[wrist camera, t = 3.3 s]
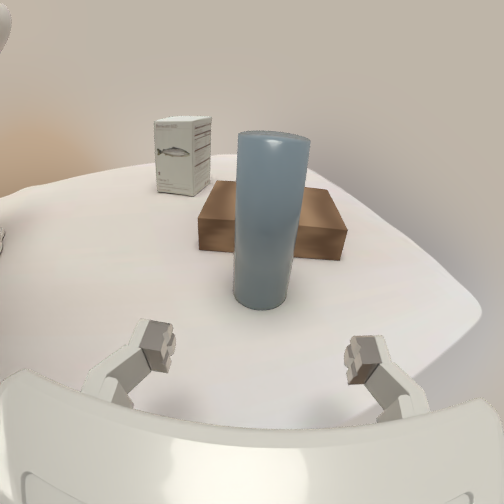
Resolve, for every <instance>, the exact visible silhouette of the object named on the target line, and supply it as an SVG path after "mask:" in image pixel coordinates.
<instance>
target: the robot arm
mask: <svg viewBox="0 0 504 504" xmlns="http://www.w3.org/2000/svg"><path fill="white" fill-rule="evenodd" d="M10 30H11V14H10V11H9V10H8V8H7V7H6V6H5V5H4V4H2V3H0V53H1V51H2V50H3V48H4V46H5V44H6V42H7V40H8V37H9V34H10ZM4 234H5V231H4V229H3V228H2V227H1V228H0V252H1V250H2V246H3V244H2V238H3V237H4ZM172 332H173V325H172V324H169V323H164V322H158V321H153V320H147V319H140V320H139V321H138V323H137V325H136V328H135V330H134V332H133V334H132V337H131V339H130V341H129V344H128V345H124V346H123V347H121V348H120V349H119V350H117V351H116V352H114V353H113V354H112V355H110V356H109V357H107V358H106V359H105V360H103V361H102V362H100V363H99V364H97V365H96V366H95V367H93V368H92V369H90V371H89V373H88V375H87V377H86V380H85V382H84V384H83V387H82V389H81V391H80V392H79V391H77V390H74V389H72V388H69V387H67V386H64V385H62V384H60V383H57V382H55V381H53V380H50V379H48V378H46V377H44V376H42V375H40V374H38V373H36V372H34V371H32V370H29V369H23V370H20V371H18V372H16V373H14V374H13V375H11V376H9V377H8V378H6V379H5V380H4V381H2V383H1V384H0V504H504V432H503V427H502V423H501V419H500V416H499V414H498V412H497V410H496V409H495V408H494V407H493V406H492V405H490V404H489V403H488V402H487V401H486V400H484V399H483V398H475V399H472V400H469V401H467V402H464V403H461V404H458V405H454V406H451V407H448V408H444V409H441V410H437V411H433V412H430V409H429V405H428V402H427V398H426V395H425V392H424V390H423V389H422V388H421V387H420V386H419V385H418V384H417V383H416V382H415V381H414V380H413V379H411V378H410V377H409V376H408V375H407V374H406V373H405V372H404V371H403V370H402V369H401V368H400V367H399V366H398V365H397V364H396V363H392V361H391V358H390V354H389V351H388V348H387V345H386V342H385V339H384V337H383V336H382V335H376V336H372V335H368V336H353V337H352V338H351V340H350V345H349V346H347V347H346V350H345V353H344V363H345V366H346V367H347V368H348V371H347V373H346V374H347V380H348V385H353V384H364V385H365V387H366V388H367V389H368V390H369V392H370V393H371V394H372V396H373V397H374V398H375V399H376V401H377V402H378V403H379V405H380V406H381V407H382V408H383V410H384V412H382V413H381V414H380V415H379V416H378V417H377V418H376V421H377V423H374V424H366V425H359V426H349V427H338V428H323V429H257V428H242V427H231V426H221V425H213V424H206V423H199V422H192V421H186V420H181V419H175V418H170V417H165V416H161V415H156V414H152V413H148V412H143V411H139V410H136V409H133V407H134V404H133V402H132V400H131V399H130V398H129V396H128V395H127V394H128V393H129V392H130V391H131V390H132V389H133V388H134V387H135V386H137V385H138V384H139V383H140V382H141V381H142V380H143V379H144V378H145V377H146V376H147V375H148V374H149V373H150V372H151V371H157V372H163V373H168V372H169V369H170V365H171V358H170V356H172V355H173V354H174V351H175V346H176V338H175V335H174V334H173V333H172Z"/></svg>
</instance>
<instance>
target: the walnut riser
mask: <svg viewBox="0 0 504 504" xmlns="http://www.w3.org/2000/svg"><path fill="white" fill-rule="evenodd" d="M235 202H236V182H235V181H216V183H215V185H214V187H213V189H212V191H211V193H210V195H209V197H208V199H207V200H206V202H205V204H204V206H203V208H202V210H201V212H200V214H199V216H198V234H199V250H210V251H223V252H234V233H235ZM347 231H348V230H347V228H346V226H345V224H344V222H343V220H342V218H341V216H340V214H339V212H338V210H337V208H336V206H335V204H334V202H333V200H332V198H331V196H330V194H329V192H328V191H327V190H325V189H317V188H308V187H304V194H303V200H302V207H301V214H300V220H299V226H298V232H297V239H296V245H295V250H294V256H293V257H301V258H315V259H328V260H340V257H341V253H342V250H343V246H344V242H345V239H346V235H347Z"/></svg>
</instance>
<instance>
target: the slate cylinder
mask: <svg viewBox="0 0 504 504" xmlns="http://www.w3.org/2000/svg"><path fill="white" fill-rule="evenodd" d="M309 149H310V140H309V139H308V138H305V137H302V136H299V135H294V134H290V133H284V132H275V131H246V132H241V133H239V134H238V152H237V175H236V202H235V233H234V272H233V294H234V296H235V298H236V300H237V301H238V302H239V303H241V304H242V305H244V306H246V307H248V308H251V309H255V310H269V309H273V308H275V307H277V306H279V305H281V304H282V303H283V302H284V300H285V298H286V295H287V289H288V284H289V279H290V273H291V268H292V262H293V256H294V250H295V245H296V239H297V232H298V226H299V220H300V214H301V207H302V200H303V194H304V187H305V180H306V173H307V165H308V157H309Z"/></svg>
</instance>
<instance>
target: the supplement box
mask: <svg viewBox="0 0 504 504" xmlns="http://www.w3.org/2000/svg"><path fill="white" fill-rule="evenodd" d="M211 121H212V117H205V116H204V117H203V116H172V117H168V118H164V119H161V120H156V121H154V139H155V140H154V141H155V163H156V180H157V191H158V192H167V193H175V194H182V195H189V196H195V195H196V194H197V193H198V192H200V191H201V190H202V189H203V188H205V187H206V186H207V185H208V184H209V183H210V152H211Z"/></svg>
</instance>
